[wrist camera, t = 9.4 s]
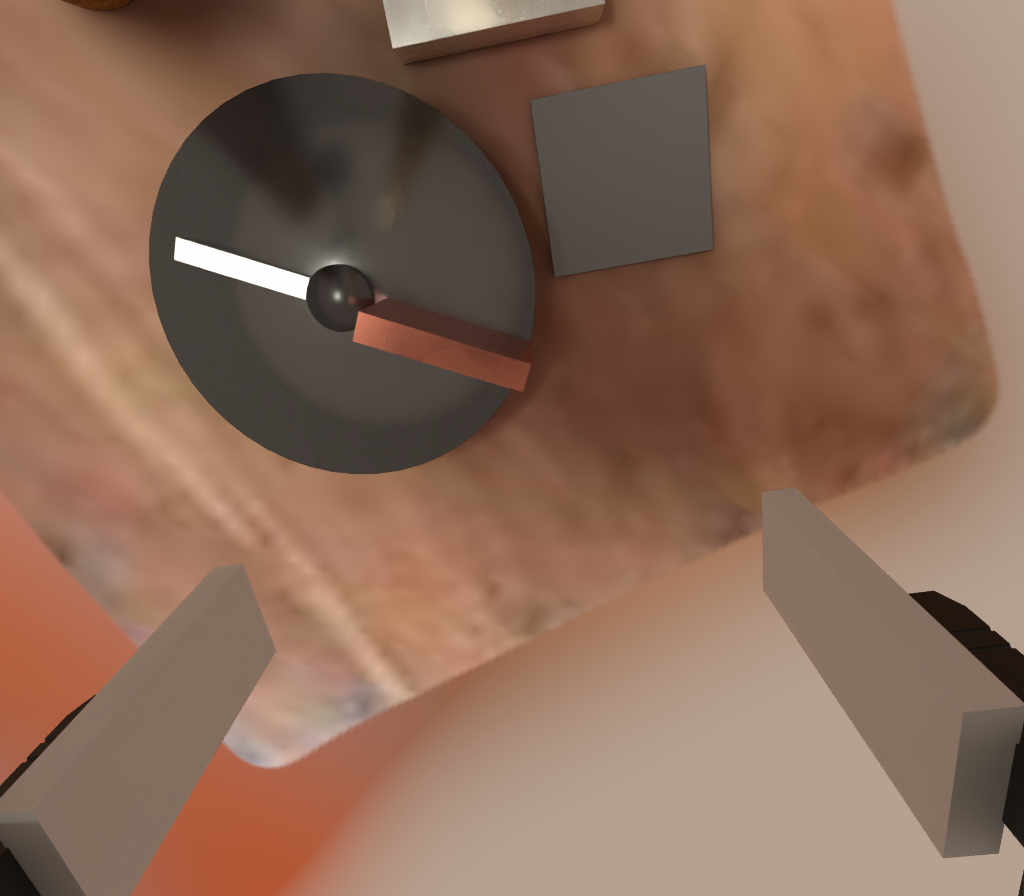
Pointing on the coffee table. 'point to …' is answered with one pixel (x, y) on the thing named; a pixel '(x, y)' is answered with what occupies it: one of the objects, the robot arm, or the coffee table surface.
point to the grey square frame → (478, 23)
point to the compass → (342, 274)
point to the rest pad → (625, 171)
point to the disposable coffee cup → (99, 4)
